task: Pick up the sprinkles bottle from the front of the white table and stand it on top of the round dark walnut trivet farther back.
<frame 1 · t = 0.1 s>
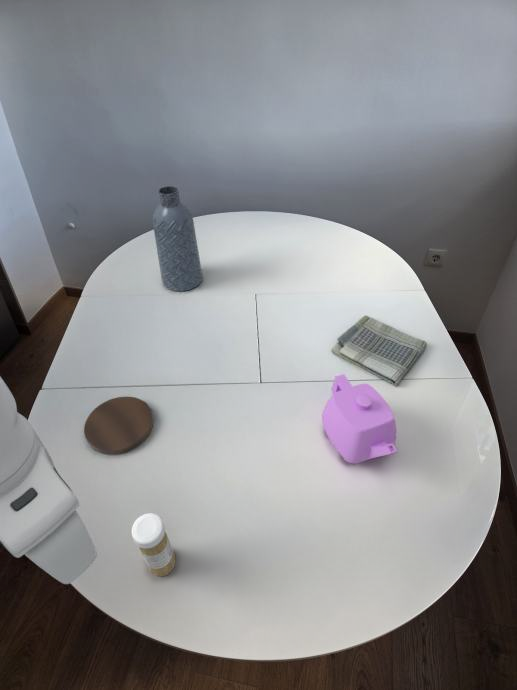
hand: (47, 531, 51), 25 cm above the table, tool pointing down, fingers open, 8 cm apart
sprinkles bottle: (162, 563, 71), on the table
dish towel: (377, 350, 108), on the table
trivet: (120, 426, 92), on the table
teapot: (355, 441, 88), on the table
vase: (182, 281, 131), on the table
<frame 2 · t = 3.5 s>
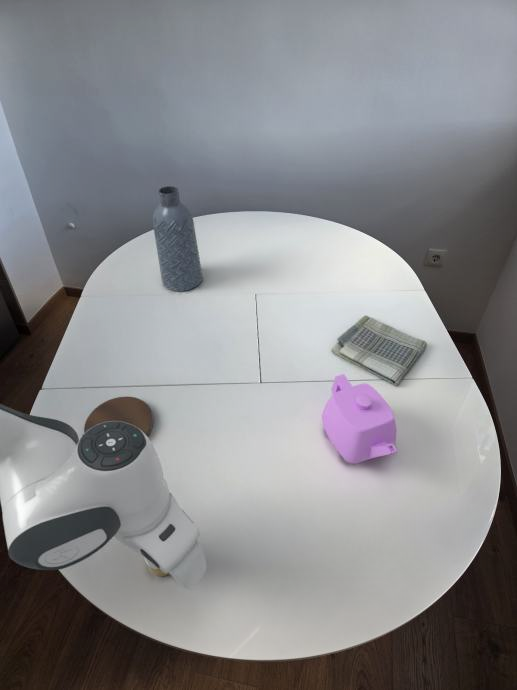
hand: (157, 550, 68), 5 cm above the table, tool pointing down, fingers closed on sprinkles bottle, 4 cm apart
sprinkles bottle: (162, 563, 71), on the table, touching gripper
everything else where it was.
when the fingers open (7 cm above the table, at t = 12.2 s): sprinkles bottle stays where it is, resting on trivet.
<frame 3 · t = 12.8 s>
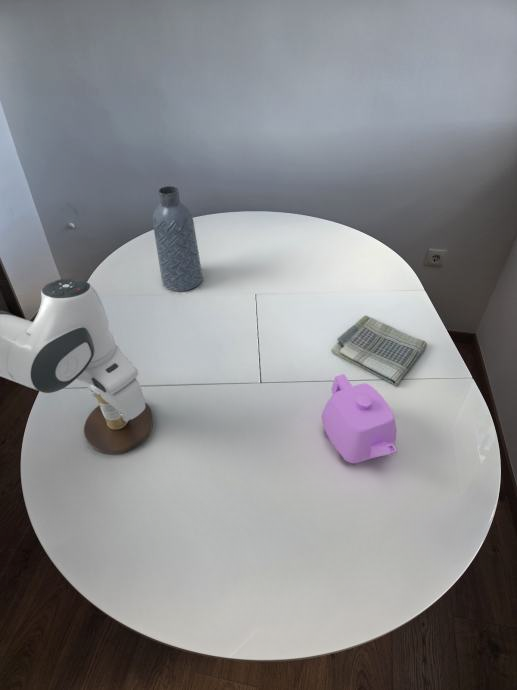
hand: (112, 406, 87), 7 cm above the table, tool pointing down, fingers open, 8 cm apart
sprinkles bottle: (118, 422, 91), point 1 cm above the table, touching trivet
everything else where it was.
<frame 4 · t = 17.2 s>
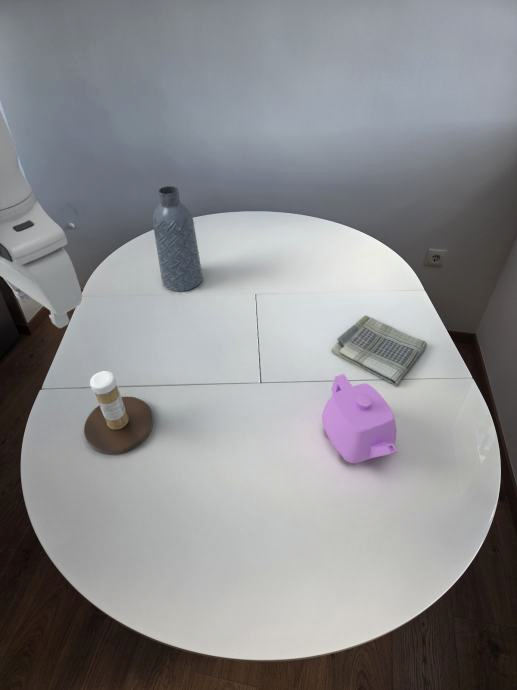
hand: (43, 310, 61), 37 cm above the table, tool pointing down, fingers open, 8 cm apart
nothing on the table moved.
at the end: sprinkles bottle inside the target area on the trivet (0.0 cm from its centre), point 1.3 cm above the trivet's base; sprinkles bottle tilted 0°; the gripper is holding nothing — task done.
